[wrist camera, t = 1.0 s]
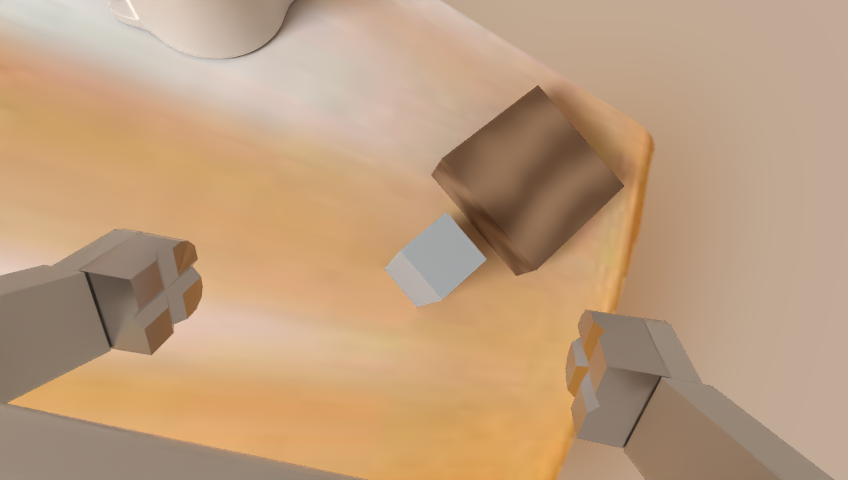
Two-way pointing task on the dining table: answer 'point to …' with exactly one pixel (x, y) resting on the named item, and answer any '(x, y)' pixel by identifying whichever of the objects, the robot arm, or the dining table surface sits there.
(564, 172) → the walnut block
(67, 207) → the dining table surface
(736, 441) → the robot arm
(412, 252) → the slate block
